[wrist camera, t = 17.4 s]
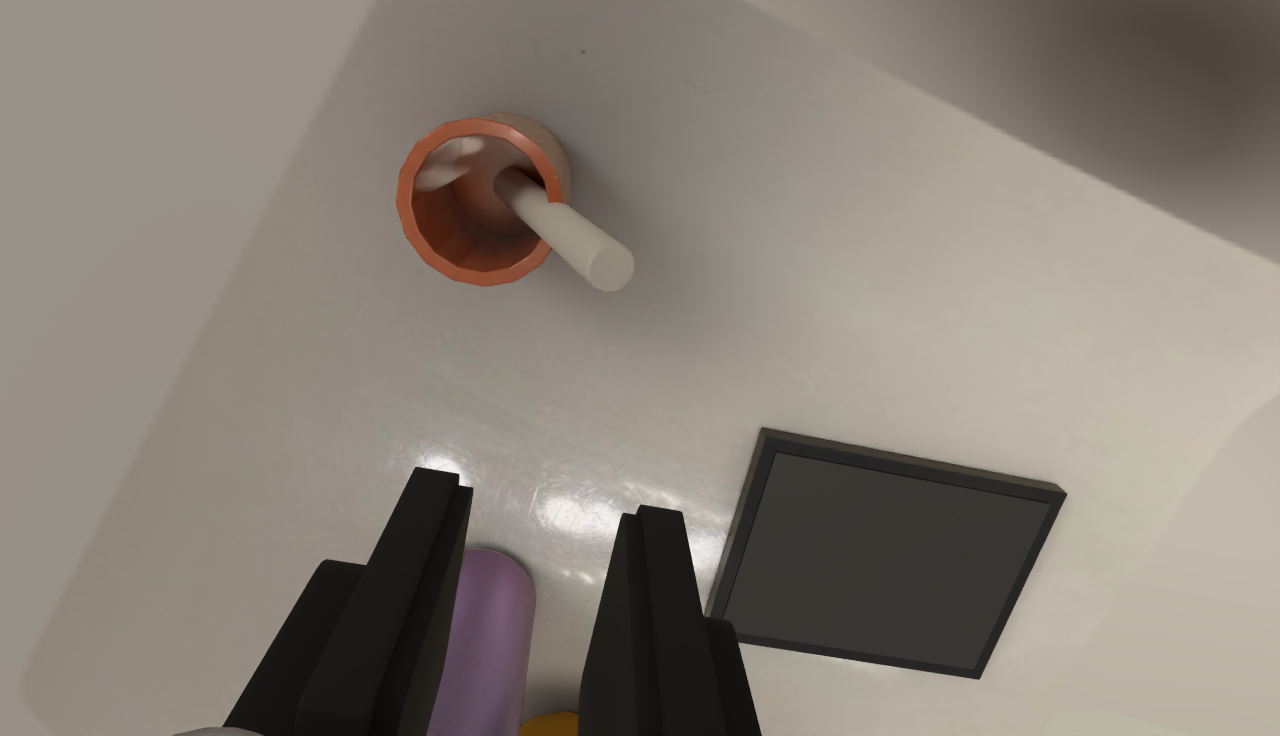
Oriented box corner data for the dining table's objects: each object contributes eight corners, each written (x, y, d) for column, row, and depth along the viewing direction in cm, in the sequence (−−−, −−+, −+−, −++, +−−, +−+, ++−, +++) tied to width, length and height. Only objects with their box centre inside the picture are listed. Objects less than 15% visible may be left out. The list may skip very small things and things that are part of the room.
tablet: (761, 427, 37) (766, 436, 36) (1056, 484, 39) (1069, 494, 38) (700, 624, 41) (703, 638, 39) (971, 667, 42) (980, 681, 41)
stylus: (491, 161, 31) (593, 240, 20) (524, 167, 31) (641, 247, 20) (486, 195, 31) (582, 290, 20) (519, 200, 32) (629, 296, 21)
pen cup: (454, 99, 31) (407, 100, 23) (582, 129, 31) (577, 140, 24) (436, 227, 33) (388, 267, 25) (558, 254, 33) (547, 300, 26)
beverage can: (527, 534, 38) (484, 792, 24) (544, 629, 40) (514, 918, 26) (410, 548, 38) (298, 815, 24) (434, 643, 40) (344, 940, 26)
